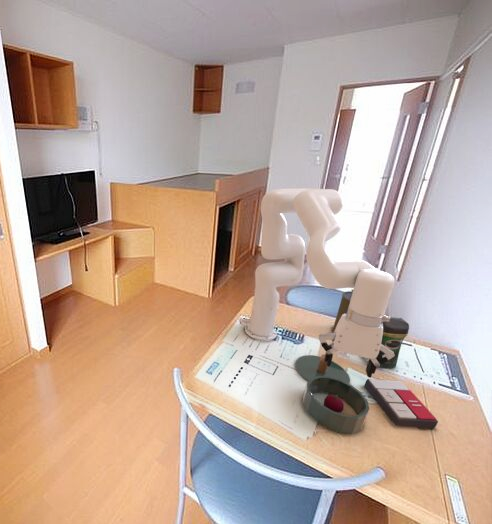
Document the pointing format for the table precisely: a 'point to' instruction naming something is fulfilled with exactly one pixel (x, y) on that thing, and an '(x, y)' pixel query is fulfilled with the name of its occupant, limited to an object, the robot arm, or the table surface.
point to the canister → (343, 306)
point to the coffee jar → (392, 339)
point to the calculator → (400, 404)
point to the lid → (319, 368)
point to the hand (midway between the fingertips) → (347, 368)
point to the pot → (329, 417)
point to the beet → (334, 403)
